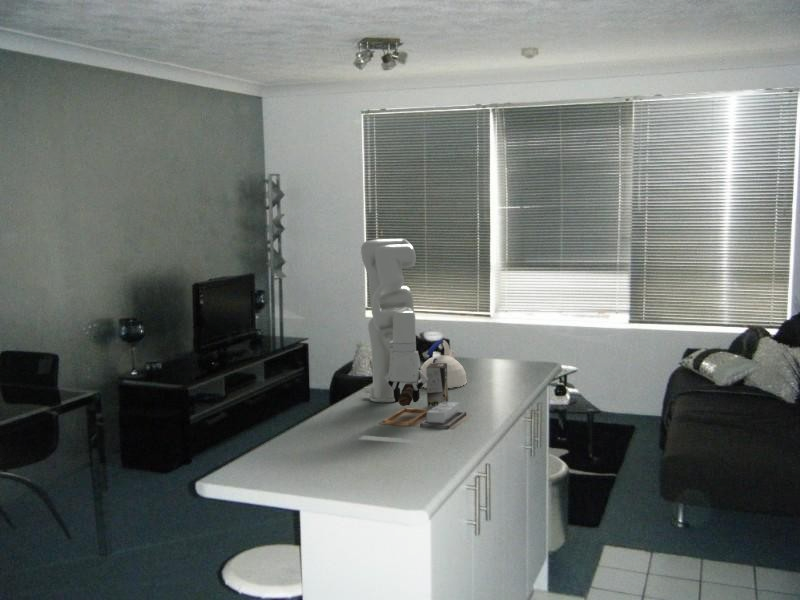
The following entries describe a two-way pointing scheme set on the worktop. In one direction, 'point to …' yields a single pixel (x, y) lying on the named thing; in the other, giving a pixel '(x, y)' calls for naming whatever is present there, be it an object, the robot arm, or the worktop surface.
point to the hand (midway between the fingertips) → (406, 400)
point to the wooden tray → (420, 419)
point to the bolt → (406, 394)
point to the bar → (443, 413)
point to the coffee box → (436, 384)
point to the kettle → (453, 366)
